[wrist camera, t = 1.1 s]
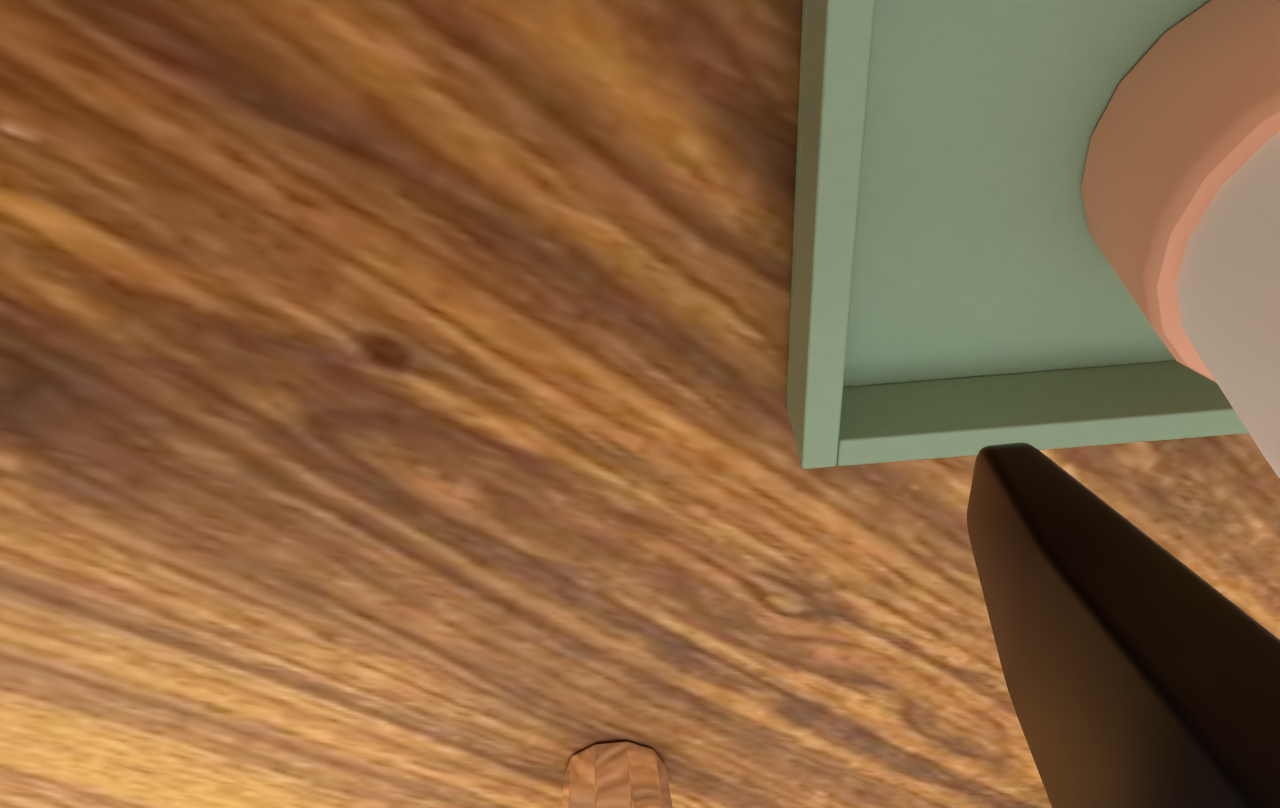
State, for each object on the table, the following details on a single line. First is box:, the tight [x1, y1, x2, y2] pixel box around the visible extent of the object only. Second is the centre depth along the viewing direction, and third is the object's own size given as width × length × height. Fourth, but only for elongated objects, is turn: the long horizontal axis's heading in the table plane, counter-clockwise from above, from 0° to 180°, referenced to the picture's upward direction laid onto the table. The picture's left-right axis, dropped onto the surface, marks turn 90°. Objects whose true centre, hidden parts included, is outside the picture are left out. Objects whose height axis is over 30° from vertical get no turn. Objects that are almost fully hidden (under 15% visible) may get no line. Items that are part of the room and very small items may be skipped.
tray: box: [786, 0, 1249, 469], centre depth 22 cm, size 16×13×2 cm
